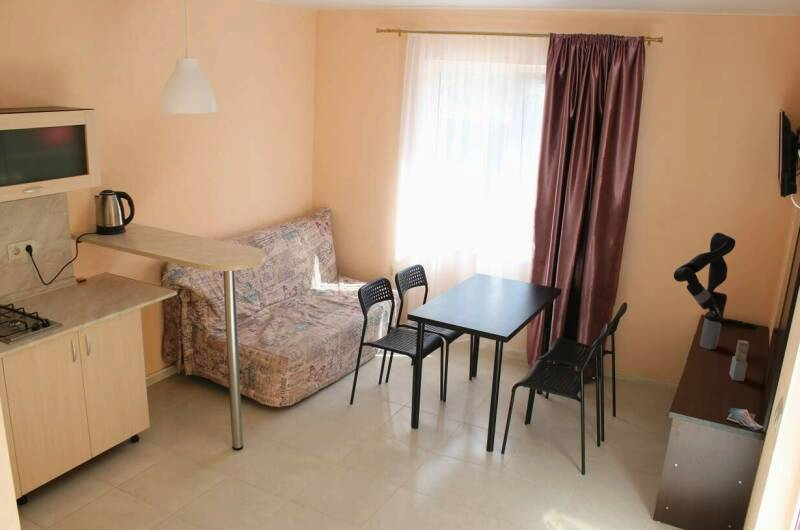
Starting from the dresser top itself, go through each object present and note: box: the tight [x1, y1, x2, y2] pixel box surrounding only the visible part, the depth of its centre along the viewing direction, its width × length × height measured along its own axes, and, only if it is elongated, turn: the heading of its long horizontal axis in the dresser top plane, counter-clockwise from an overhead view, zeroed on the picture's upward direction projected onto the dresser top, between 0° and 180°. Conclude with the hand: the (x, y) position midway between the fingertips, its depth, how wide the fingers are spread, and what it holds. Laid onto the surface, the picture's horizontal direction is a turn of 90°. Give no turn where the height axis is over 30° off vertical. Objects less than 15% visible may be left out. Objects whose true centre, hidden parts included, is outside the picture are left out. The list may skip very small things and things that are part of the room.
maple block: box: [734, 339, 750, 362], centre depth 372 cm, size 4×4×10 cm
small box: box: [729, 355, 748, 382], centre depth 376 cm, size 8×6×10 cm
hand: (723, 321), depth 371 cm, fingers open, 8 cm apart
